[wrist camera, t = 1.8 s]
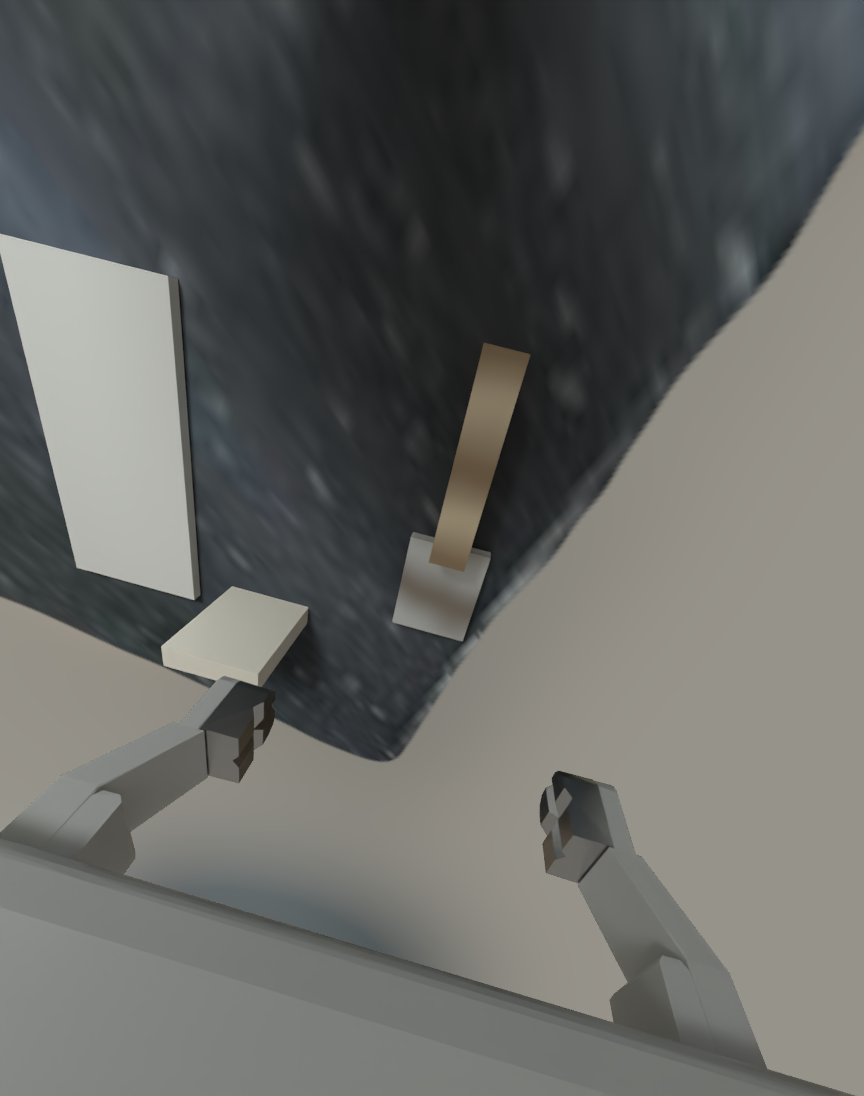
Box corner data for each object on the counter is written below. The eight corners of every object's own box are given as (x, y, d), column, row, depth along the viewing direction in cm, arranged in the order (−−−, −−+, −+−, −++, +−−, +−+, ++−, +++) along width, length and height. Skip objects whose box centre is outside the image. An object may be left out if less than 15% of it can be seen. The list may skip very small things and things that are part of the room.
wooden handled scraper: (455, 338, 23) (449, 333, 19) (554, 363, 22) (565, 363, 19) (394, 615, 32) (382, 646, 29) (463, 633, 32) (459, 667, 28)
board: (10, 236, 24) (-5, 232, 23) (177, 278, 23) (168, 275, 23) (85, 563, 34) (76, 567, 34) (200, 595, 34) (194, 600, 33)
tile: (232, 586, 33) (161, 646, 26) (308, 607, 33) (258, 673, 26) (232, 603, 34) (164, 667, 27) (307, 624, 34) (257, 693, 27)
